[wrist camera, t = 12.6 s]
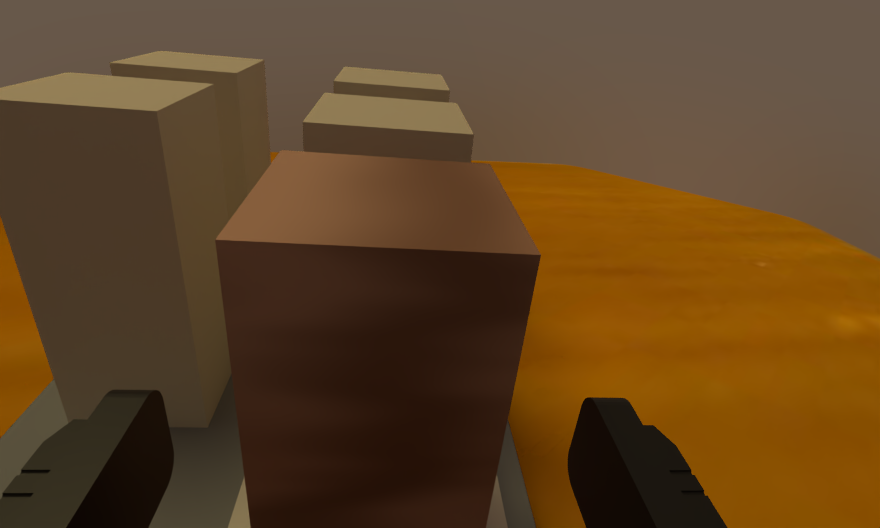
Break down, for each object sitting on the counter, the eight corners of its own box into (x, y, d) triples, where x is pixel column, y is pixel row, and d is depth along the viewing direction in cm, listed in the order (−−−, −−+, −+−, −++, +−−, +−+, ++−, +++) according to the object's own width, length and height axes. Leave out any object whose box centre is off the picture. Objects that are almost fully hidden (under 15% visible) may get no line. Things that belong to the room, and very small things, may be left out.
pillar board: (-309, 860, 10) (-1245, 296, 4) (164, 281, 32) (121, 46, 25) (585, 800, 12) (825, 356, 6) (467, 293, 34) (495, 78, 27)
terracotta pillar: (267, 663, 13) (215, 239, 8) (299, 495, 18) (280, 150, 12) (460, 655, 14) (540, 255, 8) (444, 494, 18) (489, 164, 13)
